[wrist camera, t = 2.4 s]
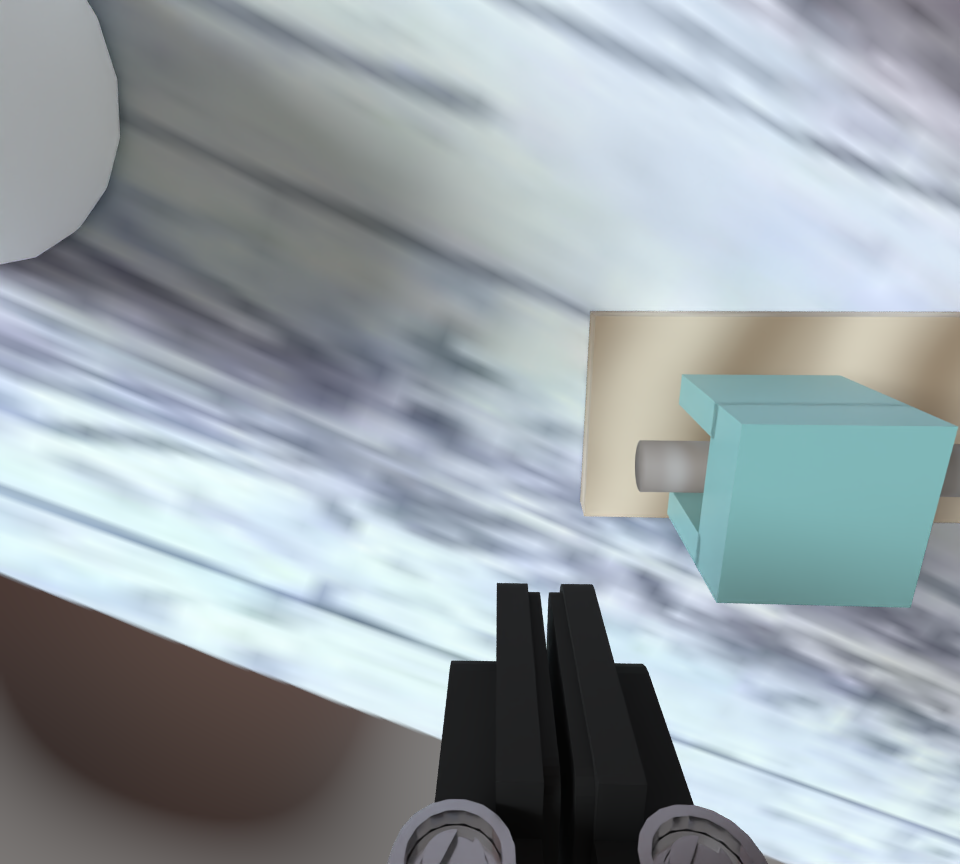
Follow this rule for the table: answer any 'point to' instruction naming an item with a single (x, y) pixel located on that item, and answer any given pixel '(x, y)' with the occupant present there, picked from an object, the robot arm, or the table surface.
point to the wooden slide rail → (742, 351)
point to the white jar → (52, 122)
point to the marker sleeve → (810, 490)
